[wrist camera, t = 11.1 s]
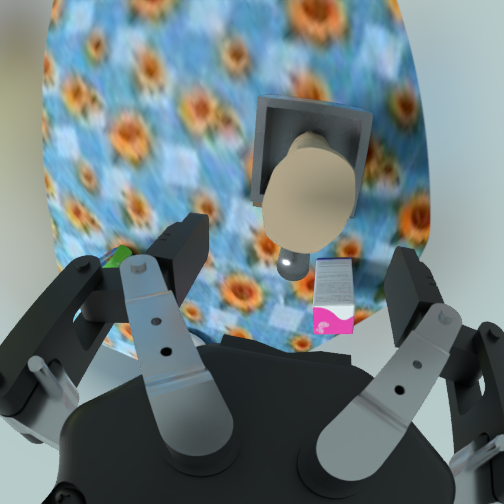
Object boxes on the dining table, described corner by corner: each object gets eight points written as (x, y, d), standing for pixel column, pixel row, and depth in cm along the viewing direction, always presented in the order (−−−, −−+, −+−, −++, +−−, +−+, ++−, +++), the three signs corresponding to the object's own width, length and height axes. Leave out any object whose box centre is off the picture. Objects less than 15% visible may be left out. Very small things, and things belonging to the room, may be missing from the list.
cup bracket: (263, 89, 36) (225, 96, 21) (367, 105, 35) (404, 123, 20) (254, 202, 46) (220, 272, 31) (347, 217, 44) (359, 295, 29)
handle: (344, 126, 27) (371, 169, 15) (321, 181, 31) (325, 263, 18) (298, 108, 27) (285, 134, 15) (277, 165, 31) (250, 236, 18)
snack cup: (130, 297, 63) (107, 329, 54) (94, 266, 60) (67, 294, 52) (163, 257, 55) (137, 292, 46) (121, 220, 52) (89, 249, 44)
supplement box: (315, 257, 48) (312, 305, 39) (351, 256, 47) (357, 304, 37) (316, 286, 51) (313, 335, 42) (351, 285, 50) (355, 334, 40)
